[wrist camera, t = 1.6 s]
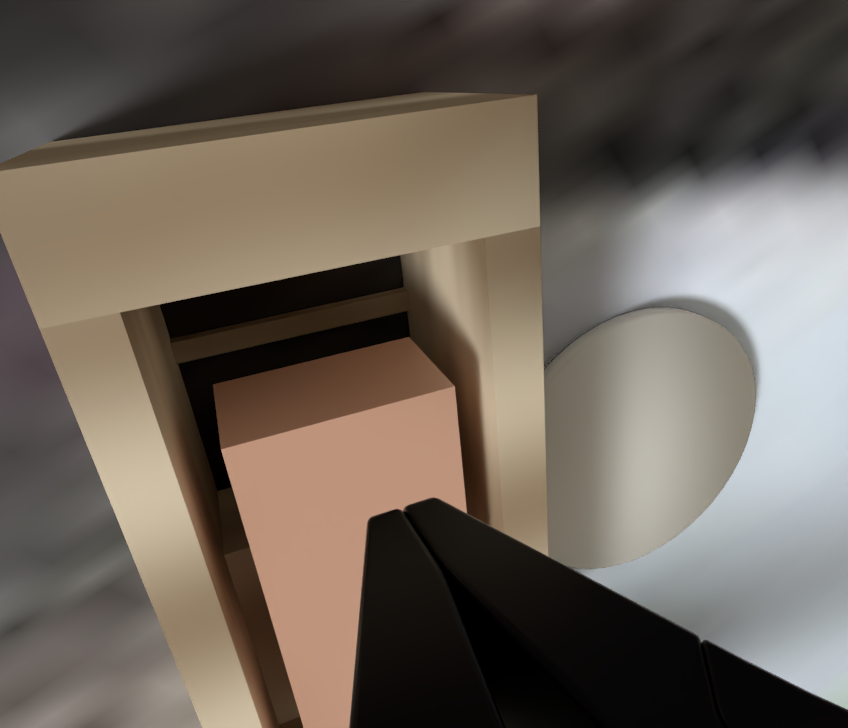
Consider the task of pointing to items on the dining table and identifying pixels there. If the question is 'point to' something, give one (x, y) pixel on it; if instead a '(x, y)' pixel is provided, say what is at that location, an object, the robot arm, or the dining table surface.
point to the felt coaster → (641, 432)
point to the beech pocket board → (280, 321)
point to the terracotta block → (332, 492)
